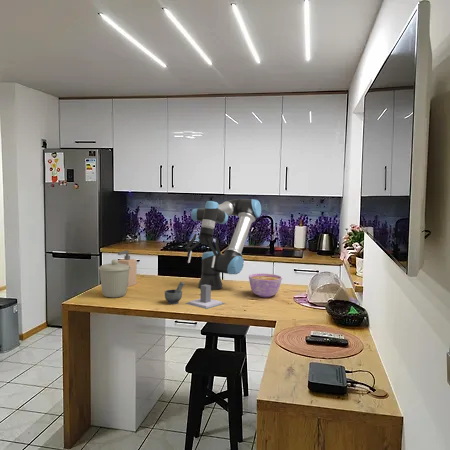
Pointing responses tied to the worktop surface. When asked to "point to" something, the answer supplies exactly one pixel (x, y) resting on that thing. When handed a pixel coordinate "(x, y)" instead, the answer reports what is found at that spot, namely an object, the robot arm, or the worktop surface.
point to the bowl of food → (265, 284)
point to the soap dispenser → (132, 264)
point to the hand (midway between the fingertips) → (200, 265)
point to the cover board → (213, 302)
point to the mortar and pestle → (174, 294)
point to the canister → (114, 279)
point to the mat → (204, 307)
